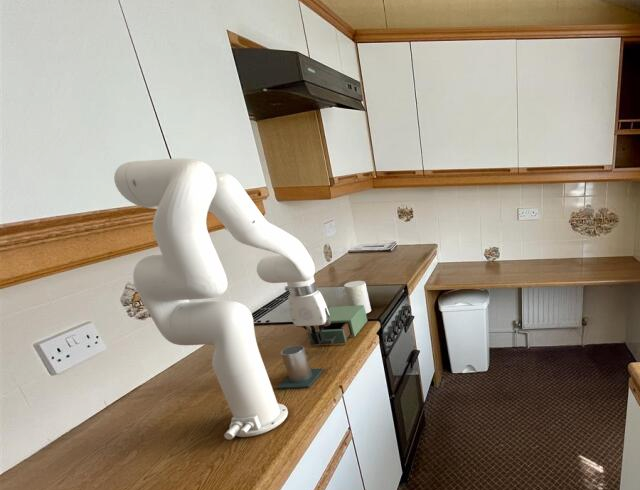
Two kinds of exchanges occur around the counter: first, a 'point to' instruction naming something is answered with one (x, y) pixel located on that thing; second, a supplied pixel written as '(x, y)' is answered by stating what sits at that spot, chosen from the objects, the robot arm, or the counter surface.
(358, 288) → the cup
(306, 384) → the mat
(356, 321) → the cabinet
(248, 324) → the robot arm
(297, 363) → the metallic grey cylinder
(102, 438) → the counter surface
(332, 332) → the drawer
